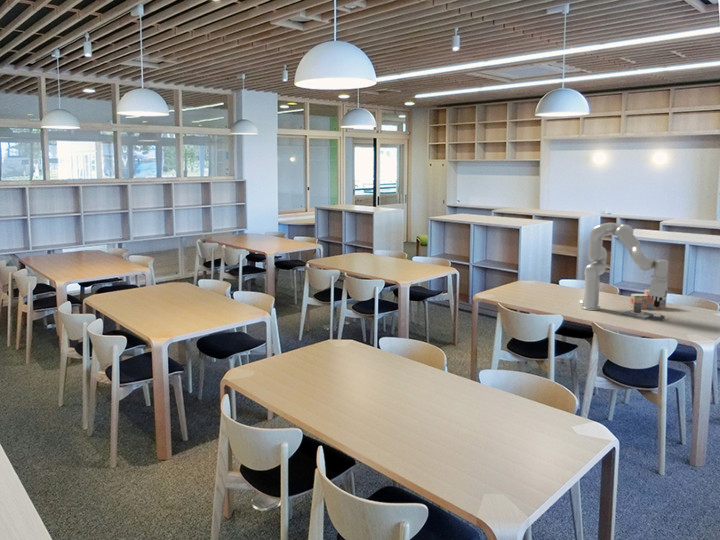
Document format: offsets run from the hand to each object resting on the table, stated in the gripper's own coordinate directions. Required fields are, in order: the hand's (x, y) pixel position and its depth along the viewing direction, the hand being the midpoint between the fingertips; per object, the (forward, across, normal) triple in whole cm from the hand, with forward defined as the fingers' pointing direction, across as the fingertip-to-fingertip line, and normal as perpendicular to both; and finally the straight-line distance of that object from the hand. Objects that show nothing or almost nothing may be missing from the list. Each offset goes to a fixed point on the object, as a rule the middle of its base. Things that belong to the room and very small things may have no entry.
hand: (656, 306), depth 379 cm
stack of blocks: (+9, -20, +22) cm, 31 cm away
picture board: (+8, -12, 0) cm, 14 cm away
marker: (+8, -14, +2) cm, 16 cm away
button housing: (+8, +1, 0) cm, 8 cm away
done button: (+7, +1, 0) cm, 7 cm away
